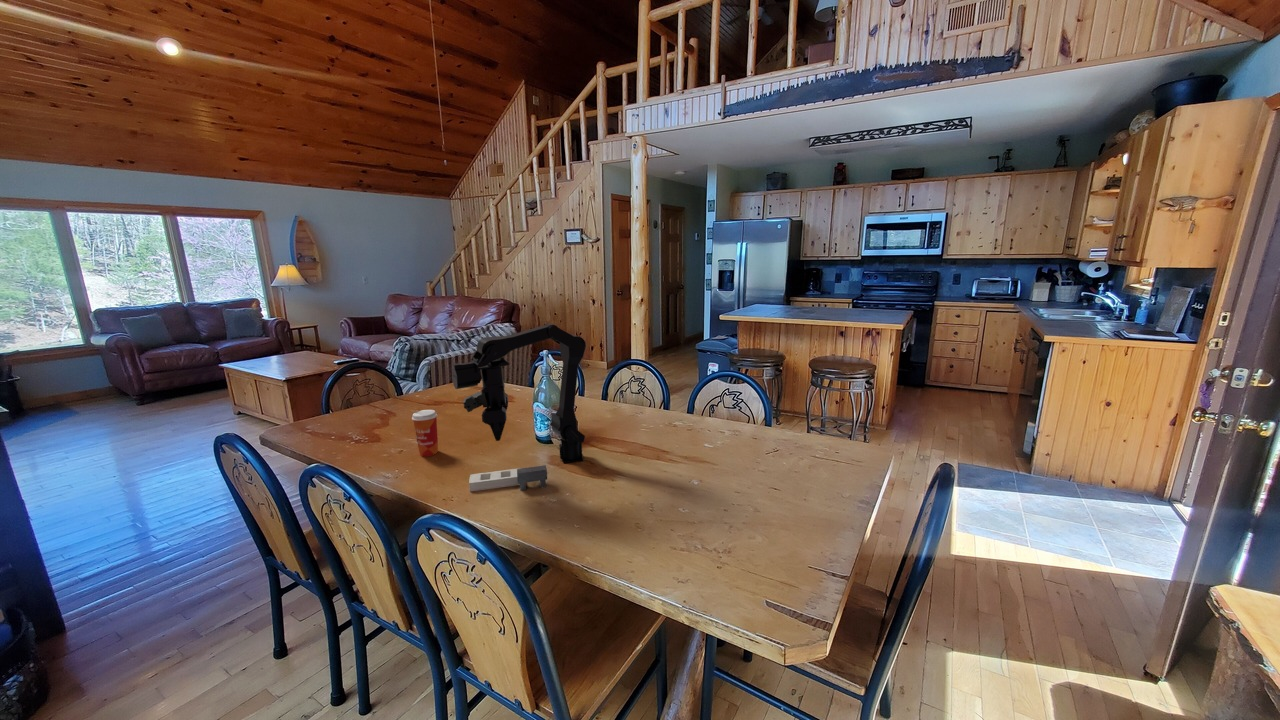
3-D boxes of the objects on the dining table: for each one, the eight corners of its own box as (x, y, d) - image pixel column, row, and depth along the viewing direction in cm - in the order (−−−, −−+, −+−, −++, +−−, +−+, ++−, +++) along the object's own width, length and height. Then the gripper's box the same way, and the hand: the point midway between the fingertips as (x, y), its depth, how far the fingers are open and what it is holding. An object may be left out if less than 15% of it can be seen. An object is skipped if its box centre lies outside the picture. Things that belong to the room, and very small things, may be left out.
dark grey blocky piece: (547, 482, 139) (545, 465, 138) (547, 486, 136) (546, 469, 135) (518, 486, 137) (516, 468, 136) (518, 490, 134) (517, 473, 133)
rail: (521, 476, 143) (520, 468, 143) (521, 484, 138) (521, 476, 137) (471, 482, 140) (470, 474, 139) (469, 491, 134) (468, 483, 134)
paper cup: (411, 455, 160) (405, 415, 157) (429, 447, 167) (424, 408, 164) (429, 459, 157) (424, 417, 154) (446, 450, 164) (442, 410, 161)
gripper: (466, 377, 144) (472, 427, 147) (458, 394, 126) (465, 450, 130) (505, 373, 146) (510, 422, 150) (503, 390, 128) (508, 445, 132)
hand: (498, 434), depth 140 cm, fingers open, 9 cm apart
